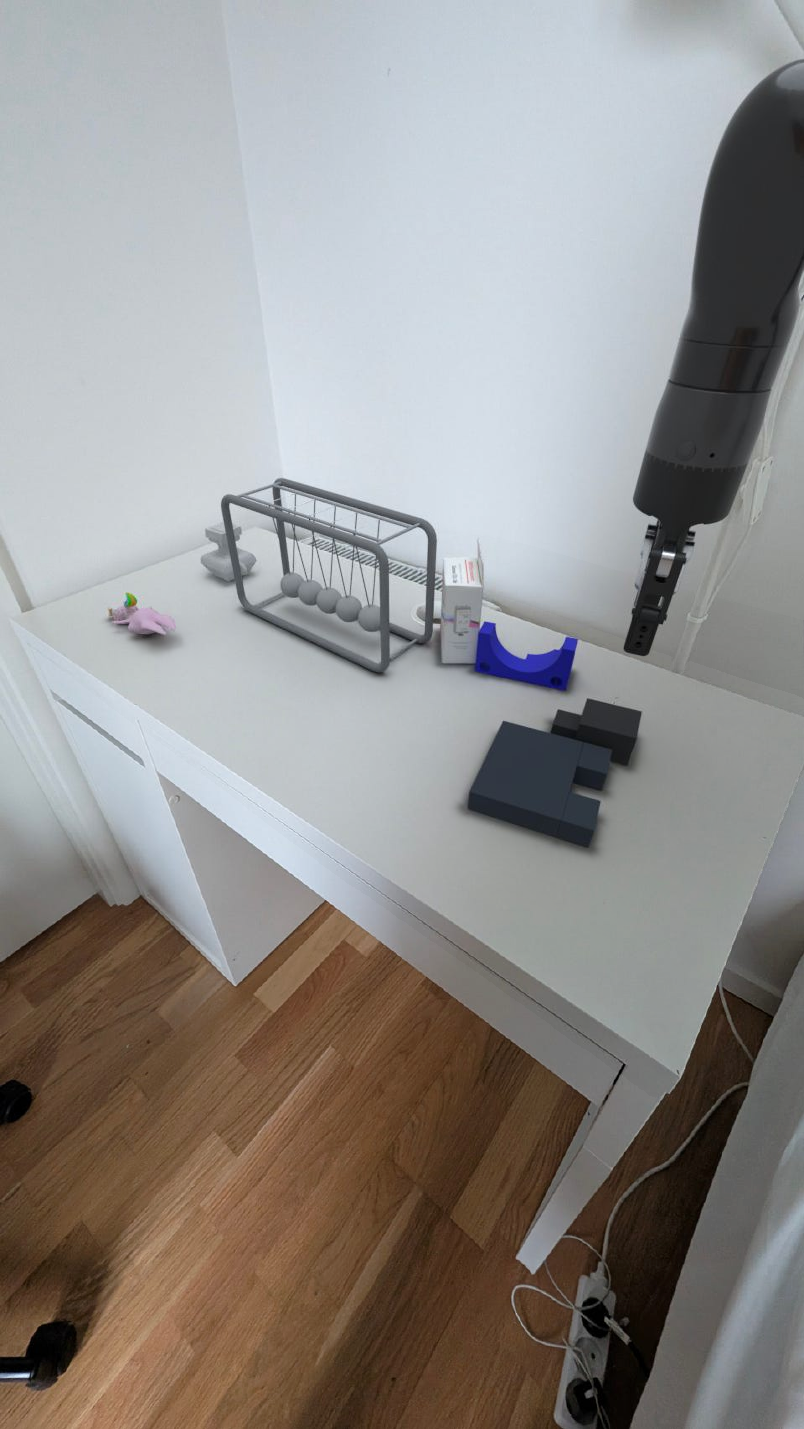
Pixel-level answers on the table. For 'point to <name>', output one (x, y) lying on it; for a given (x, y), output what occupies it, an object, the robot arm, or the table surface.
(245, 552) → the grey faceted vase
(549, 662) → the blue half-round bracket
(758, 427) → the robot arm
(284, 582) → the newton's cradle
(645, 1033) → the table surface
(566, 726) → the black usb stick
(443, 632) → the ink cartridge box
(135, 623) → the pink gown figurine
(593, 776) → the grey pad
